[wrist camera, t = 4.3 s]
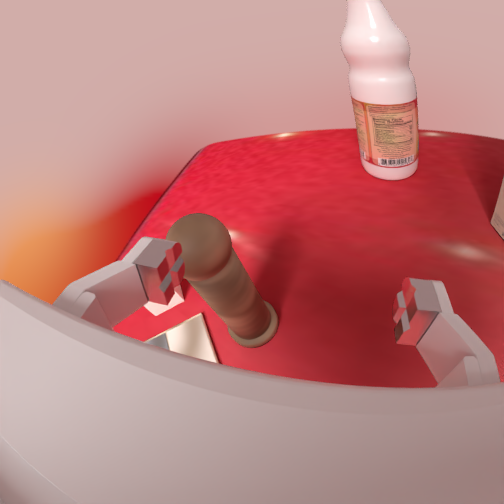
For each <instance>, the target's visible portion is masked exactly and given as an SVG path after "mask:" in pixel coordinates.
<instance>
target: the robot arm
mask: <svg viewBox="0 0 504 504" xmlns="http://www.w3.org/2000/svg"><path fill="white" fill-rule="evenodd" d="M181 253H182V247H181V244H180V243H179V242H175V241H169V240H164V239H158V238H151V237H142V238H141V239H140V240H139V241H138V243H137V244H136V245H135V246H134V247H133V248H132V249H131V250H130V252H129V253H128V254H127V255H126V256H125V257H124V259H123V260H122V261H116V262H114V263H112V264H110V265H108V266H106V267H103V268H102V269H99V270H97V271H95V272H93V273H91V274H89V275H87V276H85V277H83V278H81V279H79V280H77V281H75V282H73V283H71V284H69V285H68V286H67V287H66V289H65V290H64V291H63V292H62V293H61V295H60V296H59V297H58V298H57V299H56V301H55V302H54V303H53V304H52V305H51V304H49V303H47V302H44V301H42V300H40V299H38V298H37V297H35V296H32V295H31V294H29V293H27V292H25V291H23V290H21V289H19V288H18V287H16V286H14V285H12V284H11V283H9V282H7V281H5V280H0V504H504V382H500V378H499V374H498V369H497V365H496V362H495V358H494V355H493V354H492V352H491V351H490V350H489V349H488V348H487V346H486V345H485V344H484V343H483V342H482V341H481V340H480V338H479V337H478V336H477V335H476V334H475V333H474V332H473V331H472V329H471V328H470V327H469V326H468V325H467V324H466V323H465V322H464V321H463V320H462V319H461V318H460V317H459V315H458V314H454V312H453V309H452V306H451V303H450V300H449V297H448V294H447V292H446V289H445V286H444V284H443V282H441V281H437V280H426V279H419V278H412V277H406V278H405V279H404V280H403V282H402V284H401V287H402V291H401V292H399V293H398V294H397V295H396V297H395V299H394V302H393V307H392V316H393V320H394V321H395V322H396V323H397V325H396V327H395V328H394V331H395V339H396V344H404V345H414V346H416V348H417V350H418V351H419V353H420V354H421V356H422V358H423V359H424V361H425V363H426V364H427V366H428V367H429V369H430V371H431V372H432V374H433V376H434V377H435V379H436V381H437V383H438V385H437V386H436V387H434V388H394V387H371V386H357V385H345V384H335V383H325V382H317V381H309V380H302V379H295V378H289V377H283V376H277V375H271V374H266V373H260V372H255V371H250V370H245V369H241V368H236V367H232V366H227V365H223V364H219V363H215V362H211V361H207V360H203V359H199V358H195V357H192V356H188V355H184V354H181V353H177V352H174V351H171V350H167V349H164V348H161V347H158V346H154V345H151V344H148V343H145V342H142V341H139V340H136V339H134V338H131V337H128V336H125V335H122V334H120V333H117V332H115V331H114V330H113V328H112V327H114V326H115V325H117V324H118V323H119V322H121V321H122V320H124V319H125V318H127V317H128V316H129V315H131V314H132V313H134V312H135V311H137V310H138V309H139V308H141V307H142V306H144V305H145V304H147V303H148V301H149V302H153V303H158V304H162V305H167V306H168V304H169V303H170V301H171V299H172V297H173V296H174V294H175V291H174V288H175V287H177V286H179V285H180V284H181V282H182V280H183V277H184V274H185V263H184V260H183V259H182V258H181V257H180V254H181Z"/></svg>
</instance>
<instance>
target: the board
mask: <svg viewBox="0 0 504 504" xmlns="http://www.w3.org/2000/svg"><path fill="white" fill-rule="evenodd" d="M144 342H145V343H148V344H151V345H154V346H158V347H161V348H164V349H167V350H171V351H174V352H177V353H181V354H184V355H188V356H192V357H195V358H199V359H203V360H207V361H211V362H215V363H219V361H218V359H217V356H216V353H215V350H214V347H213V344H212V341H211V339H210V336H209V333H208V330H207V327H206V324H205V321H204V318H203V314H202V313H200V314H198V315H196V316H194V317H192V318H190V319H188V320H186V321H184V322H182V323H180V324H178V325H176V326H174V327H172V328H170V329H168V330H166V331H164V332H162V333H160V334H158V335H157V336H155V337H153V338H151V339H149V340H146V341H144Z"/></svg>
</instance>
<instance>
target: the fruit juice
mask: <svg viewBox="0 0 504 504" xmlns="http://www.w3.org/2000/svg"><path fill="white" fill-rule="evenodd" d="M346 1H347V18H346V25H345V28H344V31H343V33H342V35H341V39H340V44H341V50H342V52H343V54H344V56H345V58H346V60H347V62H348V64H349V69H350V70H349V75H348V81H349V89H350V94H351V98H352V104H353V109H354V115H355V121H356V127H357V134H358V141H359V149H360V157H361V162H362V165H363V167H364V169H365V170H366V171H367V172H368V173H369V174H371V175H372V176H374V177H377V178H380V179H384V180H401V179H405V178H408V177H410V176H411V175H413V174H414V172H415V171H416V169H417V166H418V147H419V139H418V108H417V92H416V85H415V80H414V76H413V74H412V72H411V70H410V68H409V57H410V47H409V43H408V40H407V38H406V36H405V35H404V34H403V33H402V31H401V30H400V29H399V28H398V27H397V26H396V24H395V23H394V22H393V20H392V18H391V17H390V15H389V14H388V12H387V10H386V9H385V7H384V5H383V4H382V2H381V0H346Z"/></svg>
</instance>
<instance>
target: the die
mask: <svg viewBox="0 0 504 504" xmlns="http://www.w3.org/2000/svg"><path fill="white" fill-rule="evenodd" d="M174 291H175V294H174V296H173V297H172V299H171V301H170V303H169V304H168V306H167V305H162V304H158V303H153V302H149V301H148V303H147V304H145V305H144V307H146V308H147V309H148V310H149V311H150V312H151V313H153V314H154V315H155V316H157V315H159V314H161V313H162V312H164V311H166V310H168V309H170V308H172V307H174V306H176V305H177V304H179V303H181V302H183V301H184V297H183V294H182V290H181V286H180V285H179V286H177V287H175V288H174Z"/></svg>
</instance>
